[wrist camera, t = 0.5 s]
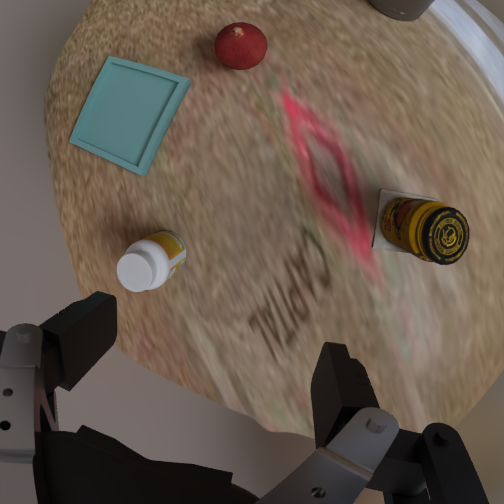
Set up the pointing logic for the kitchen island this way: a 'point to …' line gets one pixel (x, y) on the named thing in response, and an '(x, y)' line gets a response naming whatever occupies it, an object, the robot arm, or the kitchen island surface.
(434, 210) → the condiment
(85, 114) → the tray
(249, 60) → the dark red rounded piece
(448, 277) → the kitchen island surface
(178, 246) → the supplement bottle
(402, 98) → the kitchen island surface
